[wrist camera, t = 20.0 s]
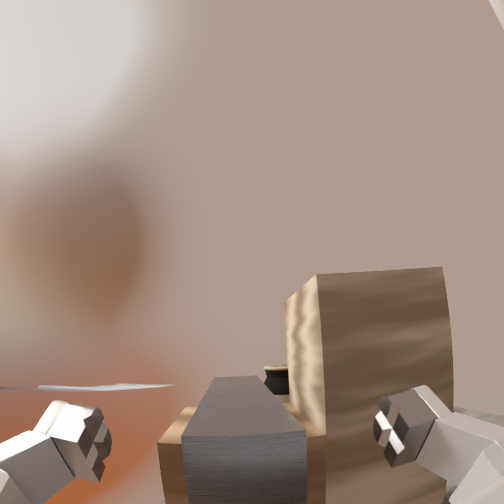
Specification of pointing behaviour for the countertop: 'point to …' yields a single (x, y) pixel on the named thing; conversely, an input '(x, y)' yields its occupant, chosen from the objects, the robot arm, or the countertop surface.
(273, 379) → the travel mug
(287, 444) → the block
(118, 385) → the countertop surface
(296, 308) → the step stand
